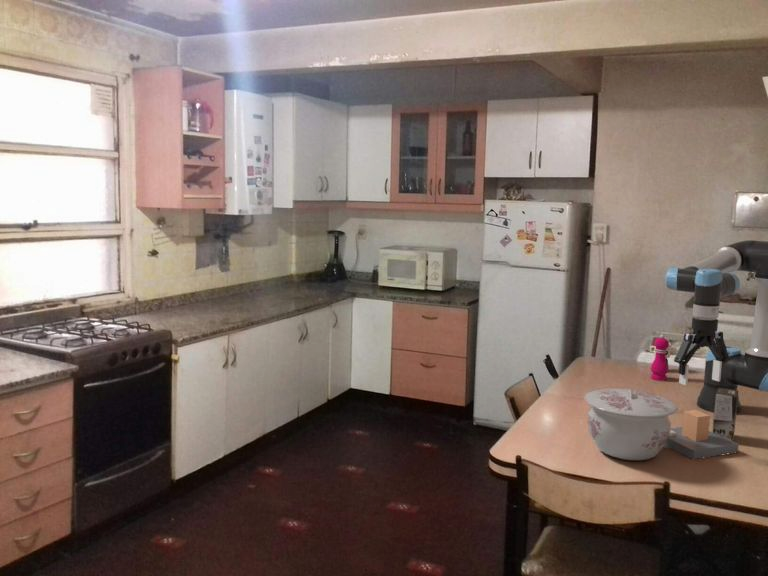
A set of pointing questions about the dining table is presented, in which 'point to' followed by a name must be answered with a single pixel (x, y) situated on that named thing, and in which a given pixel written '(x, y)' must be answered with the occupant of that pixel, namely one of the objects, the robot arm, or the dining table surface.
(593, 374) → the dining table surface
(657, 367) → the pepper mill
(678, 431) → the socket plate
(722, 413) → the coffee box
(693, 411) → the tan rectangular block
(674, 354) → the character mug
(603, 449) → the chamber pot
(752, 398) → the dining table surface
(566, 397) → the dining table surface
